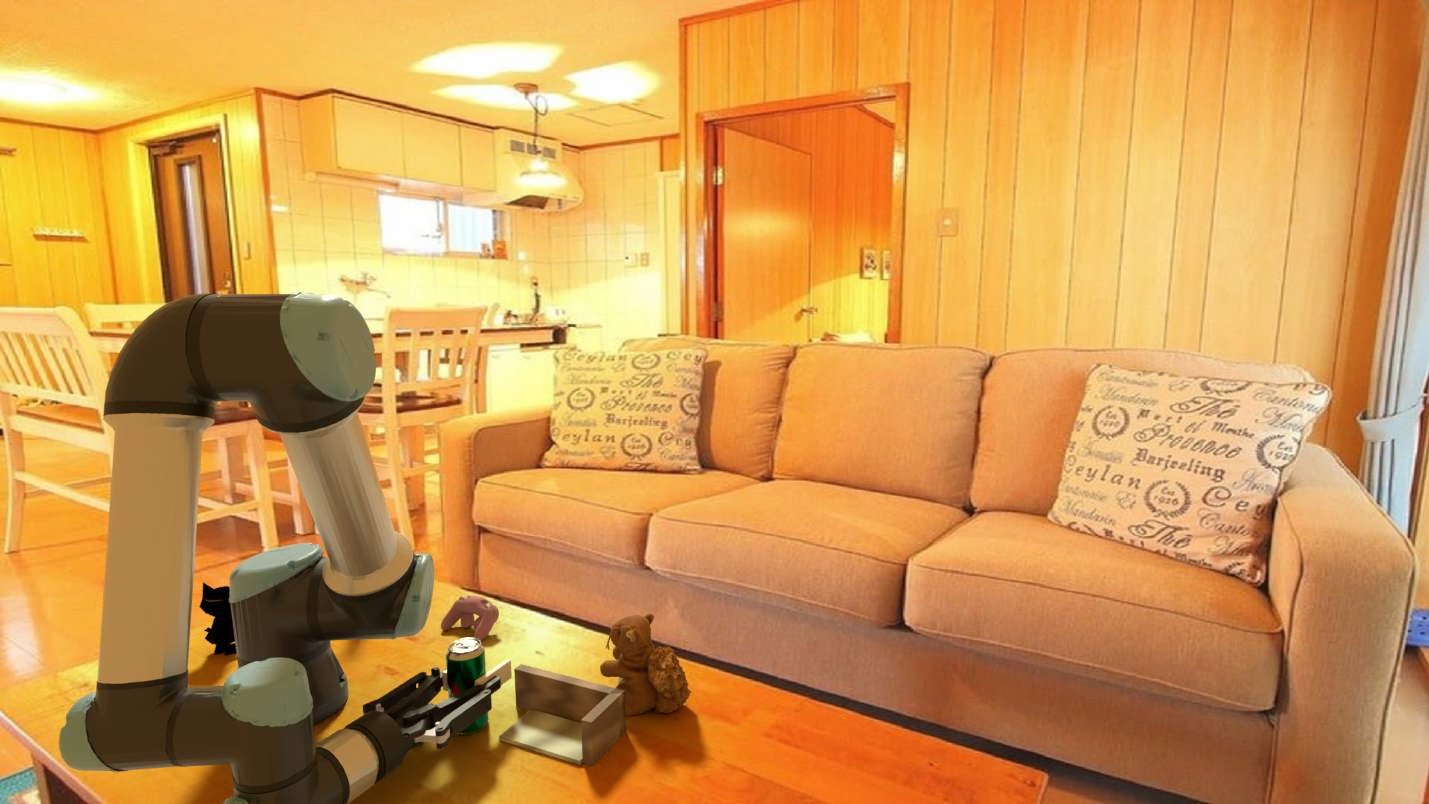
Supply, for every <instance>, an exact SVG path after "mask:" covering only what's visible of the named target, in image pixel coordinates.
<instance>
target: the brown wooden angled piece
mask: <svg viewBox="0 0 1429 804" xmlns="http://www.w3.org/2000/svg"><path fill="white" fill-rule="evenodd" d="M513 670H514V671H513V672H514V689H515V690H514V692H515V708H517V707H518V709H520V708H522V709H521V710H524V709H525V710H524V711H527V710H528V712H526V713H525V714H524V715H523V716H521V718H519V719H518V720H516V721H515V722H514V723H513V724H511V726H509V727H508V728H507V729H506V730H504V731H503V732H502V733H501V734H500V735H498V740H499V741H501V740H502V741H501V742H505V743H507V744H510V743H511V744H510V745H514V746H517V747H520V746H521V747H520V748H523V749H526V748H528V749H527V750H530V751H533V752H536V751H538V752H537V753H539V752H540V754H543V755H545V756H549V757H552V758H556V759H559V760H561V761H562V760H563V761H565V762H568V763H571V764H576V765H578V766H581V765H582V764H586V765H589V766H591V767H593V766H594V765H595V764H596V763H597V762H598V761H599V760H600V759H601V758H602V756H603V755H605V753H607V751H608V750H610V748H612V746H613V745H614V744H615V743H616V742H617V741H618V740H619V739H620V738H621V737H622V736H623V735H624V734H625V733H626V732H627V729H626V726H627V725H626V722H627V721H626V719H627V718H626V716H625V691H624V690H621V689H617V688H616V687H612V686H608V685H605V684H600V683H596V682H592V681H589V680H585V679H582V678H576V677H574V676H570V675H566V674H561V673H558V672H555V671H549V670H546V669H542V668H538V667H534V666H530V665H527V664H524V663H523V664H522V663H520V664H519V665H517V666H516V667H515V668H514V669H513Z"/></svg>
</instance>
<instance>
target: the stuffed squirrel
mask: <svg viewBox="0 0 1429 804" xmlns="http://www.w3.org/2000/svg"><path fill="white" fill-rule="evenodd" d="M654 618H655V615H654V614H653V613H651V612H650V613H646V614H644V616H643V615H639V614H636V615H634V614H633V615H628V616H625V617H623V618H620V619H619V620H617V621H616V622H614V623H613V624H612V626H611V629H610V634H609V636H608V639H607V642H606V646H605V649H607V650H608V651H610V641H611V643H612V644H613V645H614V647H613V649H612V657H613V658H614V659H611V660H608V659H607V660H603V662H602V663H601V664H600V666H599V671H600V674H601V676H603V677H605V678H618V681H617V684H616V686H615V688H617V689H621V690H624V691H625V717H629V716H635V715H641V714H643V713H647V712H648V711H650V710H652V709H655V710H654V712H656V713H659V714H671V713H672V712H674V711H676V710H678V709H679V708H680V707H682V706H683V705H684V704H685V703H686V702H687V701H688V699H690V698H689V697H690V696H691V694H692V691H691V690H690V689H689V687H688V686H689V682H688V680H687V678H686V672H685V671H684V670H683V667H682V666H681V664H680V659H678V656H677V655H676V654H675V650H674V649H673V648H671V647H670V646H664V647H663V646H658V647H656V648H655V645H654V643H653V641H652V637H651V636H652V635H651V634H652V628H651V625H652V623H653V621H654Z"/></svg>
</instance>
